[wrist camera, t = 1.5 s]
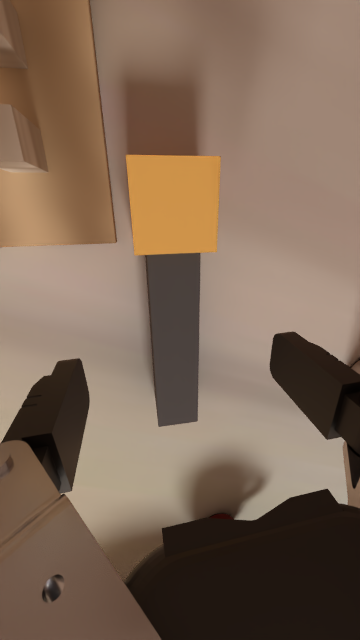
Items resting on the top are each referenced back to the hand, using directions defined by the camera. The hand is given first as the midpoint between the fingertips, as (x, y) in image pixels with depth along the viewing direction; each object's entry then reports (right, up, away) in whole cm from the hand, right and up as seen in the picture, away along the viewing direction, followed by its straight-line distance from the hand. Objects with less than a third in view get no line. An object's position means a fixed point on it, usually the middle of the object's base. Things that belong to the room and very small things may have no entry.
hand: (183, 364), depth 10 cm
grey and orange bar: (-1, +3, +10) cm, 10 cm away
